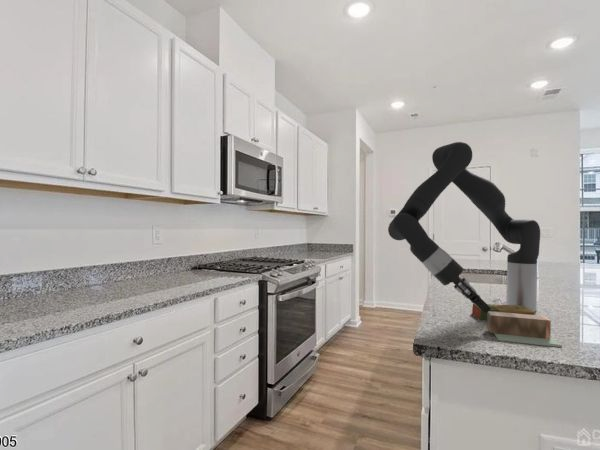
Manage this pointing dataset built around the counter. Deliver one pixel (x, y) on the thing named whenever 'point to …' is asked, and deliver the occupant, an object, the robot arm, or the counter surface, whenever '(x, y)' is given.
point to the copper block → (519, 324)
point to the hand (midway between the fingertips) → (487, 310)
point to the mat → (529, 340)
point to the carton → (501, 310)
